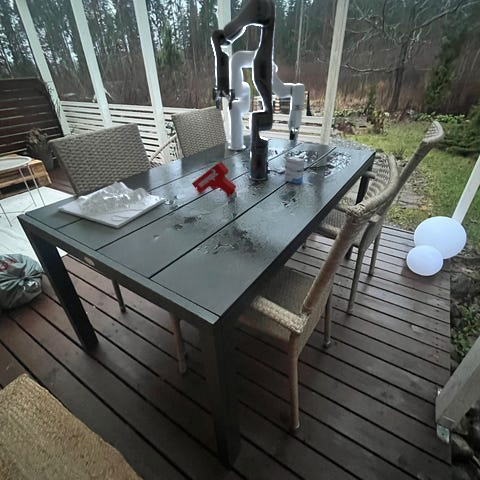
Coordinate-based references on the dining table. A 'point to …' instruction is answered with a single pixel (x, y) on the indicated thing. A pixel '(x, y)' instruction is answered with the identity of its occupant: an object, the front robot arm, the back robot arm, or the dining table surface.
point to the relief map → (113, 205)
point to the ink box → (294, 170)
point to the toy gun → (215, 180)
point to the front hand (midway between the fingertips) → (224, 109)
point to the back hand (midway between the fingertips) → (293, 138)
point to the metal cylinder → (294, 142)
